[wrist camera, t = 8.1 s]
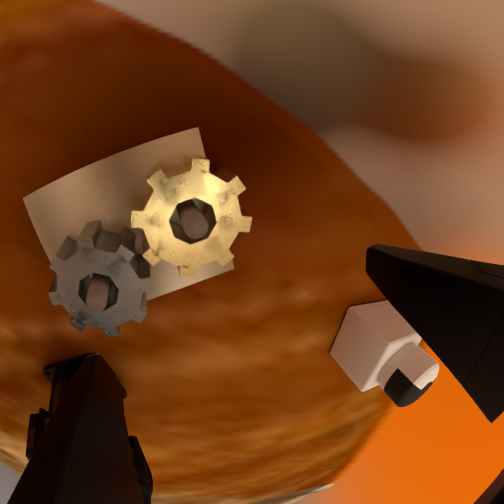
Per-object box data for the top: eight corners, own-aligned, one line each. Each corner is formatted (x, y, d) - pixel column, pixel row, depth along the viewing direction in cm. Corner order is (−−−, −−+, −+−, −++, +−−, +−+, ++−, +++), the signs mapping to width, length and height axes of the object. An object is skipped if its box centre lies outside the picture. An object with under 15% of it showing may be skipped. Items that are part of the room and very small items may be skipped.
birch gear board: (87, 313, 18) (79, 360, 14) (29, 193, 13) (-6, 218, 9) (229, 261, 21) (254, 299, 16) (195, 127, 16) (213, 125, 12)
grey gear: (96, 320, 17) (93, 348, 15) (43, 253, 14) (29, 275, 12) (166, 281, 18) (171, 306, 16) (117, 202, 15) (111, 217, 12)
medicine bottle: (367, 342, 34) (423, 400, 24) (327, 353, 31) (386, 424, 21) (387, 298, 31) (455, 355, 21) (347, 305, 28) (422, 377, 18)
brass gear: (154, 266, 18) (157, 290, 15) (121, 175, 14) (115, 185, 12) (243, 234, 19) (259, 253, 16) (222, 143, 16) (237, 146, 13)
